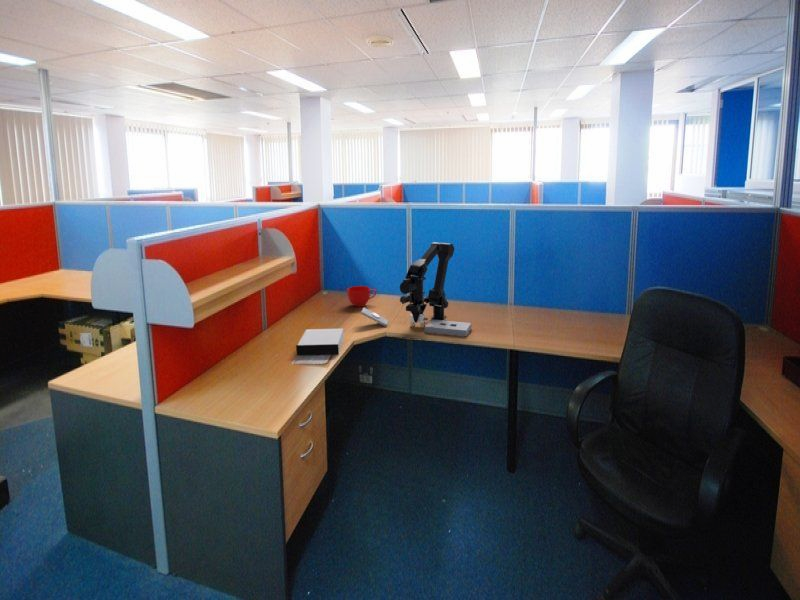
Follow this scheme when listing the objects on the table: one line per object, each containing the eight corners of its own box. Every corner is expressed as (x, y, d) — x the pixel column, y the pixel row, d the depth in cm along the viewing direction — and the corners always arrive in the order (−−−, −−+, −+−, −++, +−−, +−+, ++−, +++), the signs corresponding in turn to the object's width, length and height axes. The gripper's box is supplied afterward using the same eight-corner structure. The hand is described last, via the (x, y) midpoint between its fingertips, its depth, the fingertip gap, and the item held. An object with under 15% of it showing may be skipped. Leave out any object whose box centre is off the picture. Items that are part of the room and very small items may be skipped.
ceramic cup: (379, 306, 274) (379, 289, 271) (350, 309, 269) (349, 292, 267) (374, 301, 286) (373, 284, 283) (346, 303, 281) (345, 287, 279)
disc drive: (296, 356, 201) (296, 345, 200) (306, 338, 223) (305, 328, 222) (338, 355, 202) (338, 344, 200) (344, 338, 223) (343, 328, 222)
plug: (412, 324, 240) (412, 313, 238) (428, 326, 237) (428, 314, 235) (410, 326, 236) (409, 315, 235) (426, 328, 234) (426, 316, 232)
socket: (431, 325, 239) (431, 318, 238) (471, 328, 232) (471, 322, 231) (424, 332, 228) (424, 325, 227) (465, 336, 221) (466, 329, 220)
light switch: (388, 323, 237) (362, 310, 236) (383, 333, 238) (357, 320, 237) (389, 318, 245) (364, 305, 244) (384, 328, 246) (359, 315, 245)
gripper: (408, 284, 243) (408, 314, 247) (395, 293, 226) (395, 324, 230) (429, 286, 240) (429, 315, 244) (417, 294, 223) (417, 326, 227)
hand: (417, 320), depth 236 cm, fingers open, 6 cm apart
